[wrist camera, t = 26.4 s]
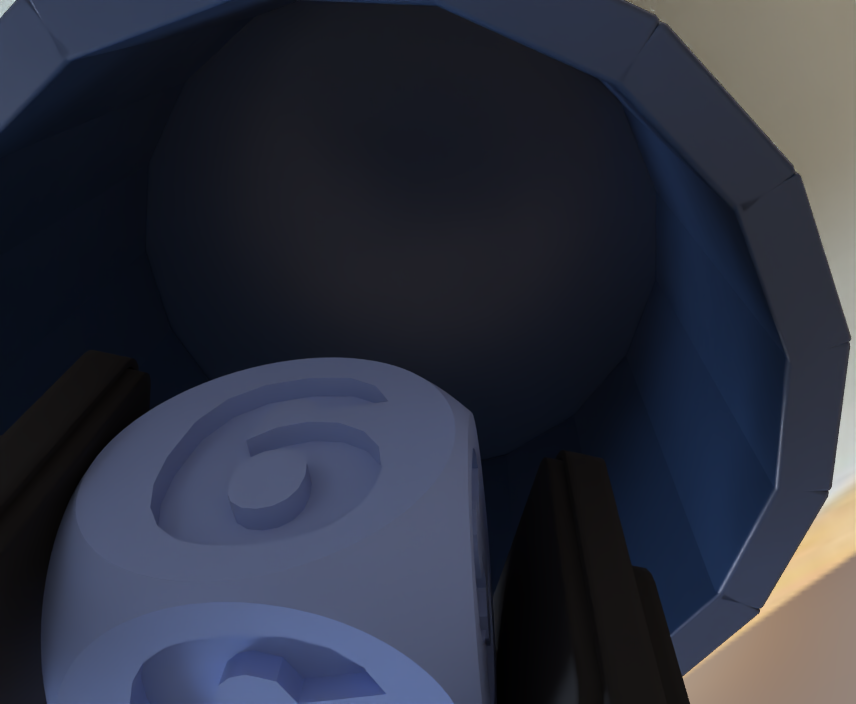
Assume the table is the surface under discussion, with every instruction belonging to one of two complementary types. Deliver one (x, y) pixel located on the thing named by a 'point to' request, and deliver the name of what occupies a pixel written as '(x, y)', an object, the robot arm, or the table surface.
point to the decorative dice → (278, 548)
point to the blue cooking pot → (442, 247)
